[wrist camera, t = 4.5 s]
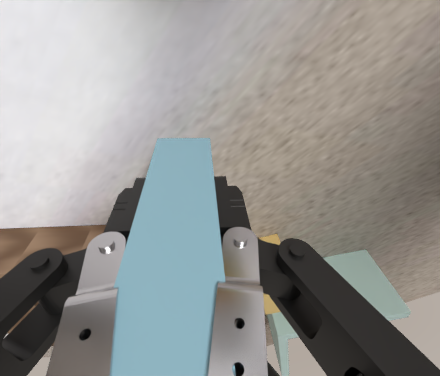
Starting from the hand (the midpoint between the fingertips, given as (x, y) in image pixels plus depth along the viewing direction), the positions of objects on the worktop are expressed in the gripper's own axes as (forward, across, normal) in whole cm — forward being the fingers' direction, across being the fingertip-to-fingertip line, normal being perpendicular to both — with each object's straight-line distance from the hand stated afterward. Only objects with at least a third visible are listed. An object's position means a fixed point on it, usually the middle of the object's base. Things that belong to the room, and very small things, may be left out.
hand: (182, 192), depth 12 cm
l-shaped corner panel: (+7, -15, +21) cm, 26 cm away
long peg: (+3, 0, 0) cm, 3 cm away
